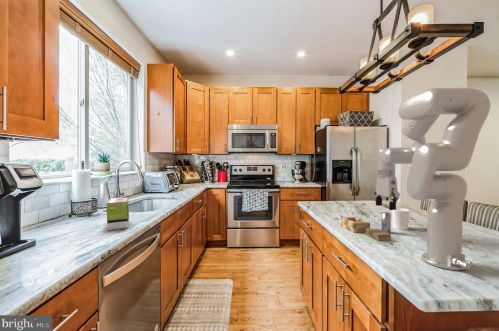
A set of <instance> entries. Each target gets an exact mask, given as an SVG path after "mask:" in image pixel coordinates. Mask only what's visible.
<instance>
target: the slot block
mask: <svg viewBox="0 0 499 331" xmlns="http://www.w3.org/2000/svg"><path fill="white" fill-rule="evenodd" d="M340 227H341V228H343V229H345V230H347V231H348V232H351V233H353V234H365V233H366V229H371V222H370V221H367V220H365V219H362V218H360V217H358V216H345V217H343V216H342V217H340Z"/></svg>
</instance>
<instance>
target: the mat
mask: <svg viewBox="0 0 499 331" xmlns="http://www.w3.org/2000/svg"><path fill="white" fill-rule="evenodd" d="M354 236H355V237H357V238H359V239H361V240H362V241H364V242H366V243H368V244H382V243H384V244H385V243H398V242H399V241H397V240H395V239H393V238H391V241H376V240H375V239H373V238H371V237H369V236H367V235H366V233H354Z"/></svg>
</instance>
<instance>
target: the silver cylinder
mask: <svg viewBox="0 0 499 331" xmlns="http://www.w3.org/2000/svg"><path fill="white" fill-rule="evenodd" d="M380 222H381V223H380V224H381V229H380V230H382V231H385V232H387V233H389V234H391V232H392V231H391V229H392V228H391V227H392V225H391V224H392V212H387V211H381V220H380Z"/></svg>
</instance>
